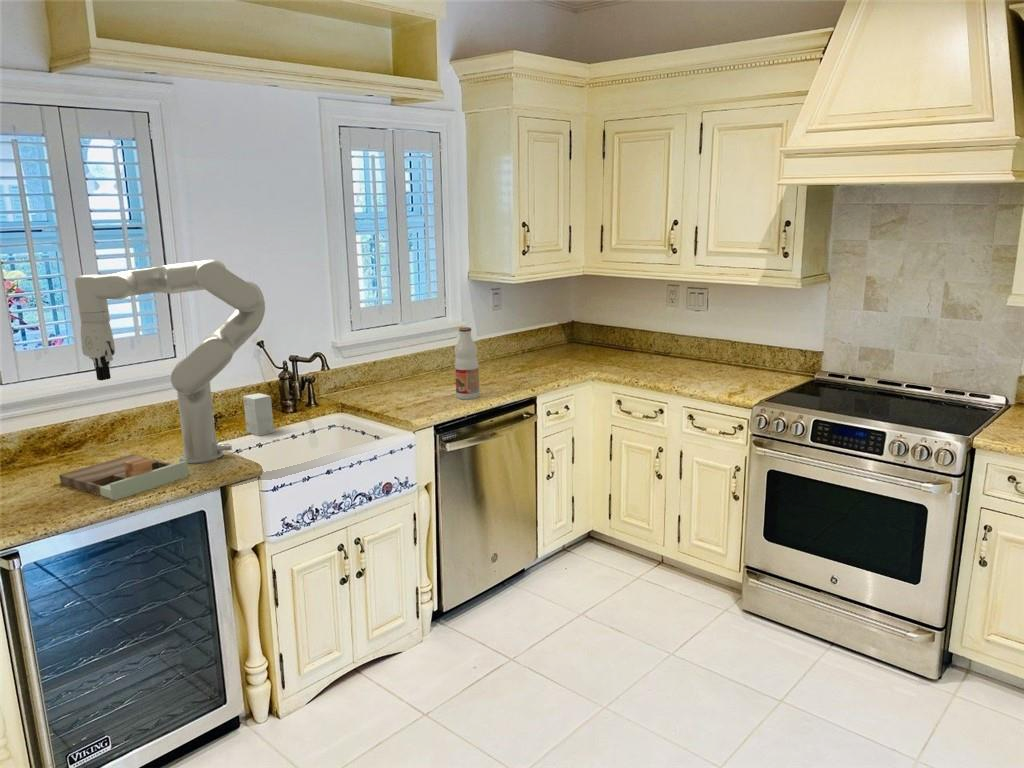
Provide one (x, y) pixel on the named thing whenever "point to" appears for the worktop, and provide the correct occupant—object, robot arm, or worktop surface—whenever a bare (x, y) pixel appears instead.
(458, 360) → the fruit juice
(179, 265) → the robot arm
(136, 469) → the block
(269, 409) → the small box
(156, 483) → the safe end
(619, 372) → the worktop surface
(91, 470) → the track
